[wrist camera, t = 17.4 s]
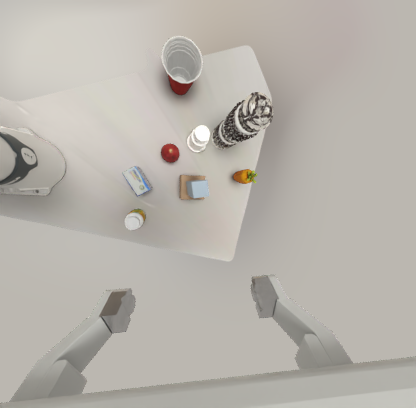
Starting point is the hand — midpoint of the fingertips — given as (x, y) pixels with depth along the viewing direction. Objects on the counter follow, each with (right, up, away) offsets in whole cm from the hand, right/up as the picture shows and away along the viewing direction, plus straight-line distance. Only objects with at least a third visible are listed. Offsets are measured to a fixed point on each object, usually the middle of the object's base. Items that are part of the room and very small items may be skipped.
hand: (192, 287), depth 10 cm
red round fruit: (-12, +23, +43) cm, 51 cm away
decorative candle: (+6, +31, +48) cm, 57 cm away
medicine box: (-22, +14, +42) cm, 50 cm away
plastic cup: (-9, +45, +41) cm, 62 cm away
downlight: (-3, +28, +45) cm, 53 cm away
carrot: (+12, +17, +51) cm, 55 cm away
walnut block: (-6, +12, +47) cm, 49 cm away
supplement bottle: (-24, +1, +44) cm, 50 cm away
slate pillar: (-4, +11, +41) cm, 43 cm away
